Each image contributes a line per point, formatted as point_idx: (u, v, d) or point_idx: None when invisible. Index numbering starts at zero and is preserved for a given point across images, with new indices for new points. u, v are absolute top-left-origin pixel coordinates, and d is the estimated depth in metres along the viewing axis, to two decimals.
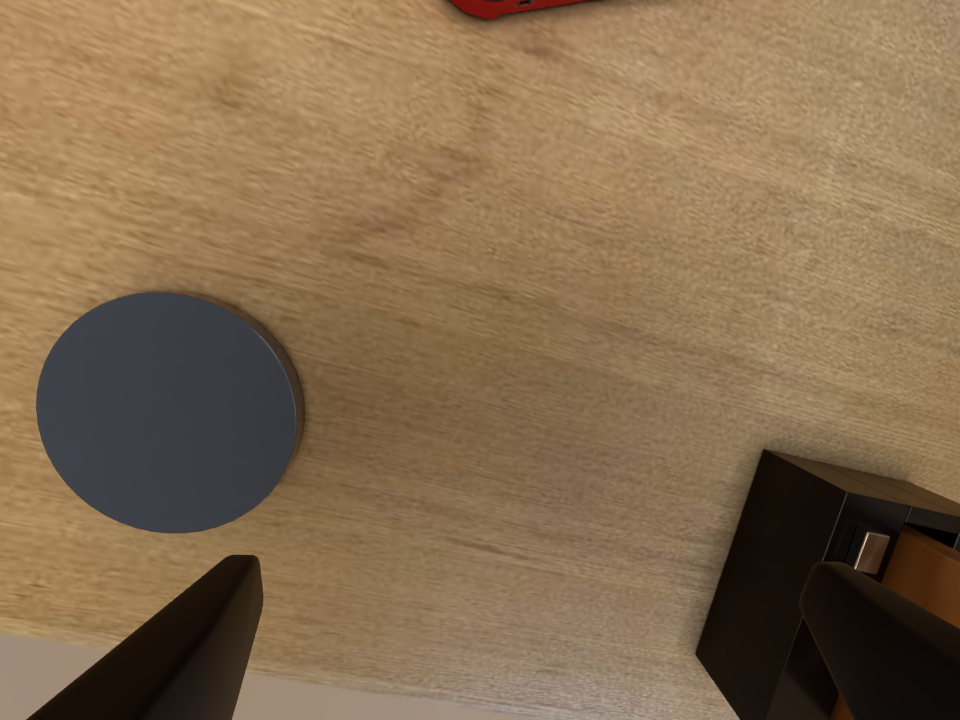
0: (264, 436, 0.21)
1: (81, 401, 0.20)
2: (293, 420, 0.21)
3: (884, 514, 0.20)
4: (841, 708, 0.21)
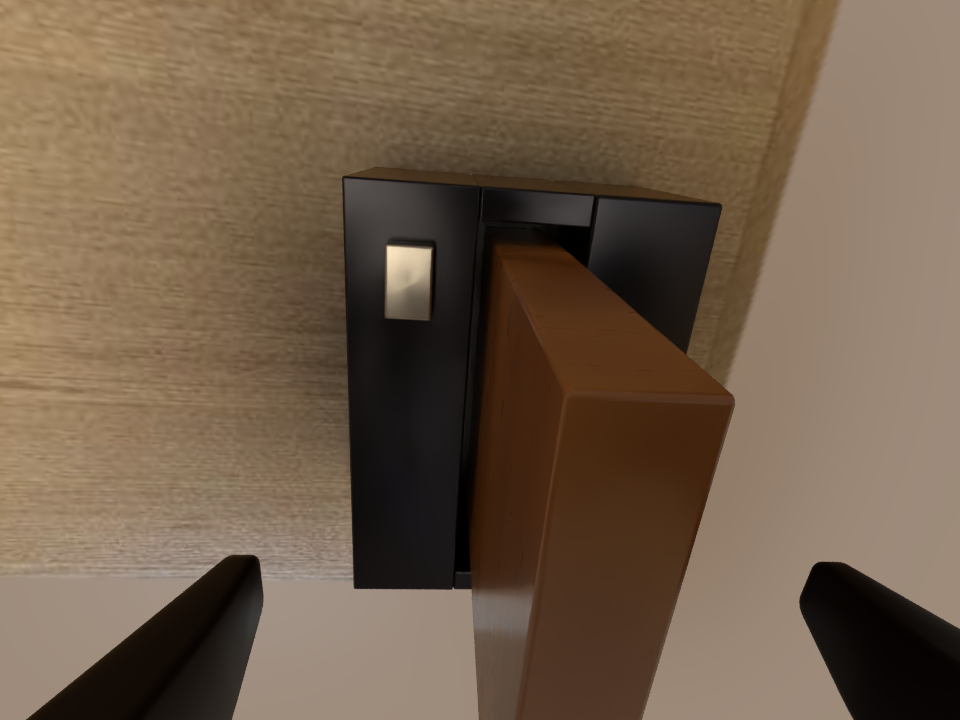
0: None
1: None
2: None
3: (432, 210, 0.11)
4: (471, 530, 0.14)
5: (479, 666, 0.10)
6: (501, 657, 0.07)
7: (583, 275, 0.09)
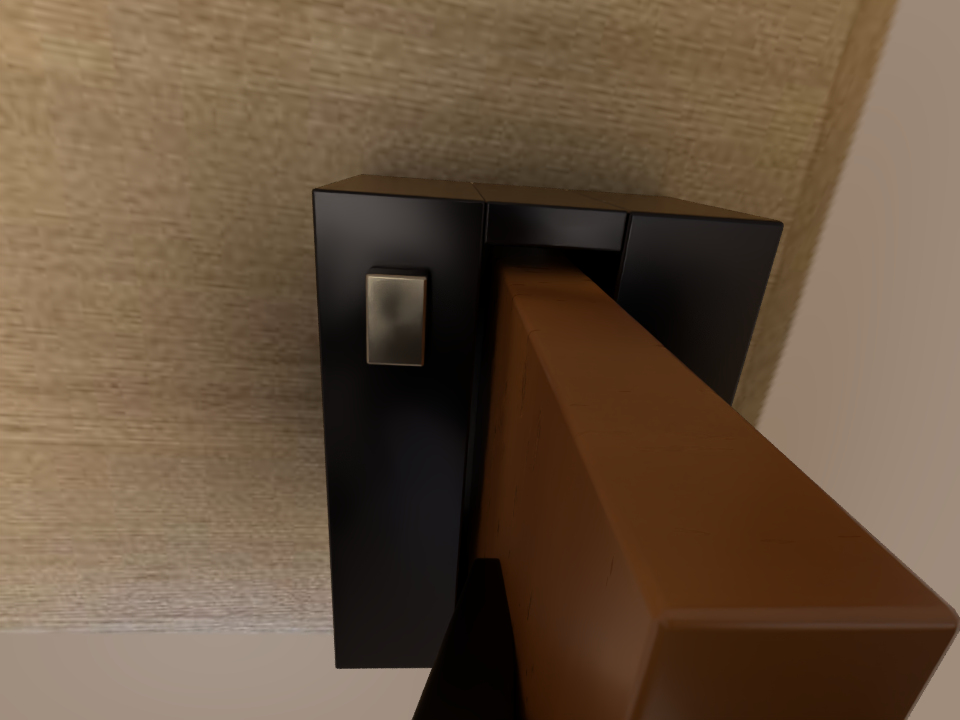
0: None
1: None
2: None
3: (425, 231, 0.08)
4: None
5: None
6: None
7: (621, 321, 0.07)
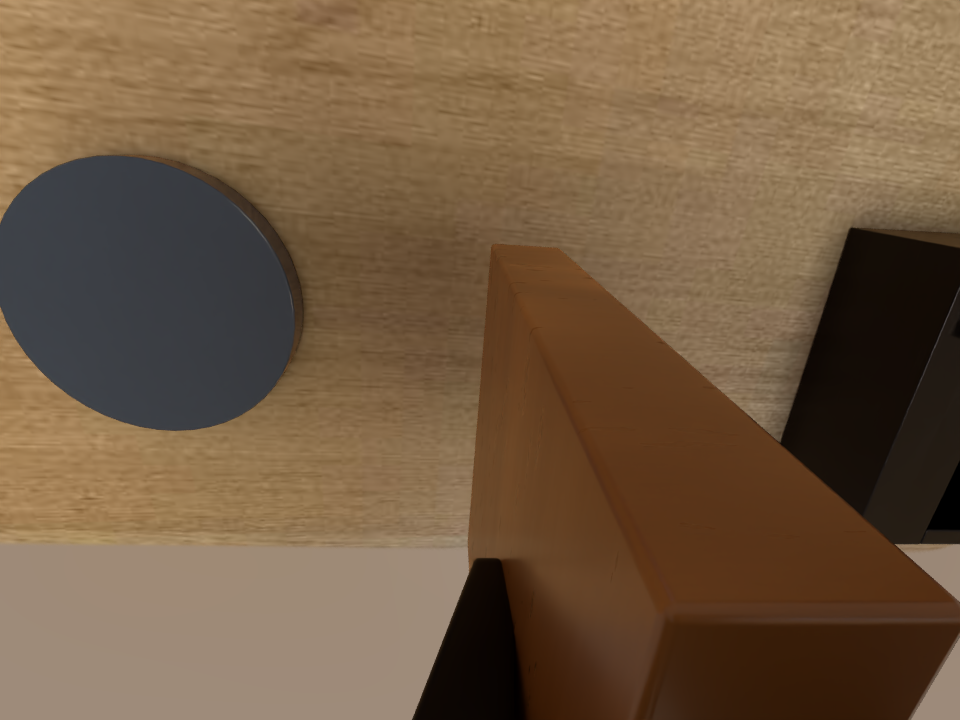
0: (259, 311, 0.18)
1: (49, 306, 0.18)
2: (285, 287, 0.18)
3: None
4: None
5: None
6: None
7: (623, 319, 0.07)
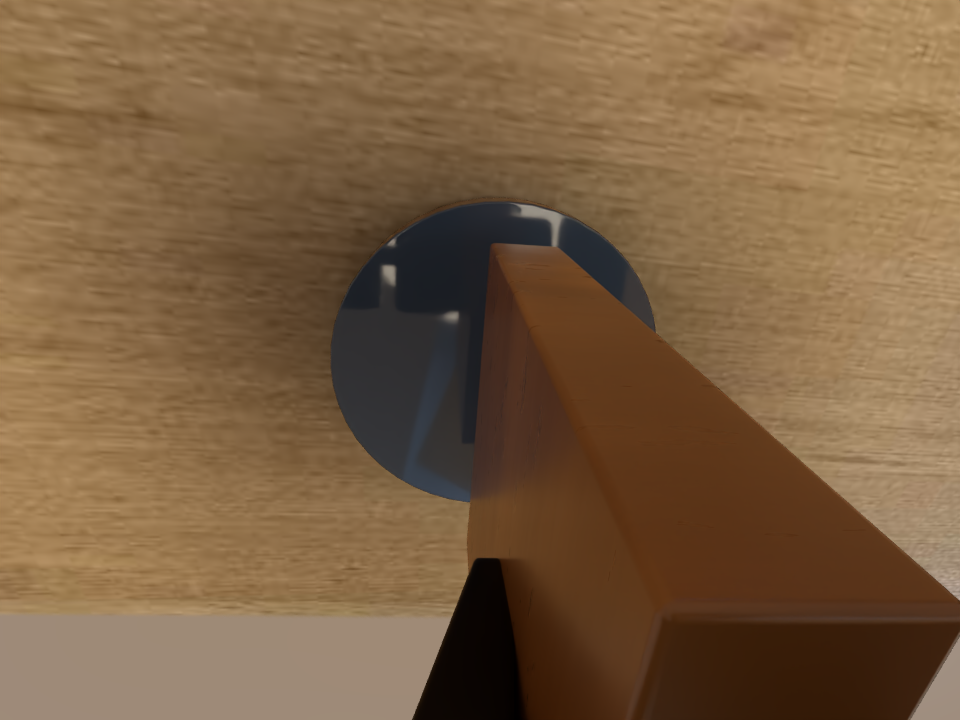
0: None
1: (386, 369, 0.15)
2: None
3: None
4: None
5: None
6: None
7: (622, 317, 0.07)
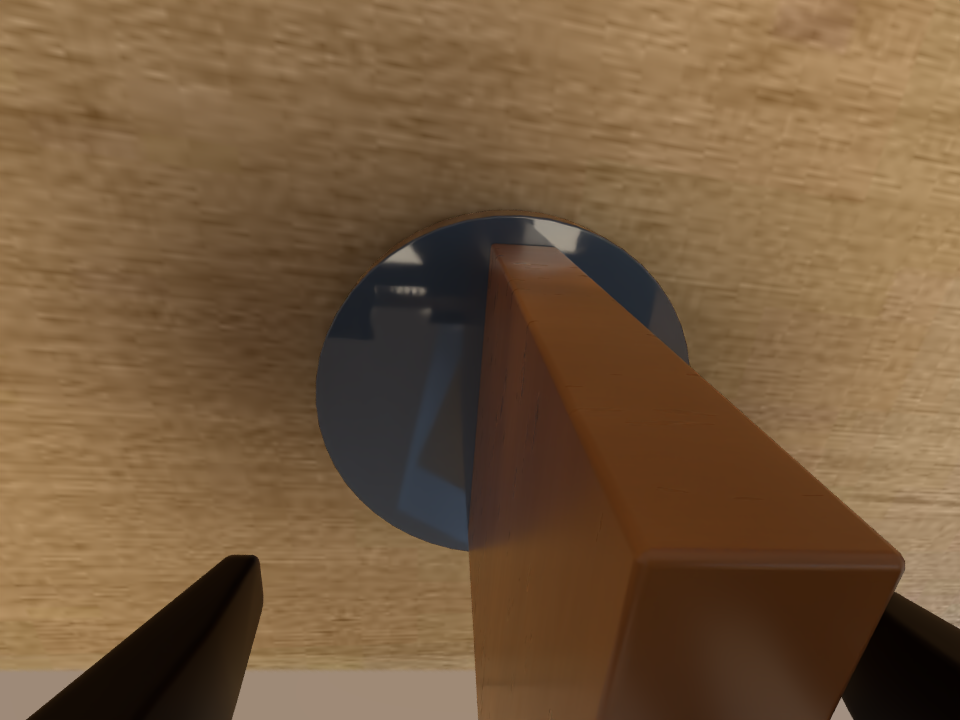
0: None
1: (380, 406, 0.13)
2: None
3: None
4: (474, 590, 0.12)
5: None
6: None
7: (615, 313, 0.07)
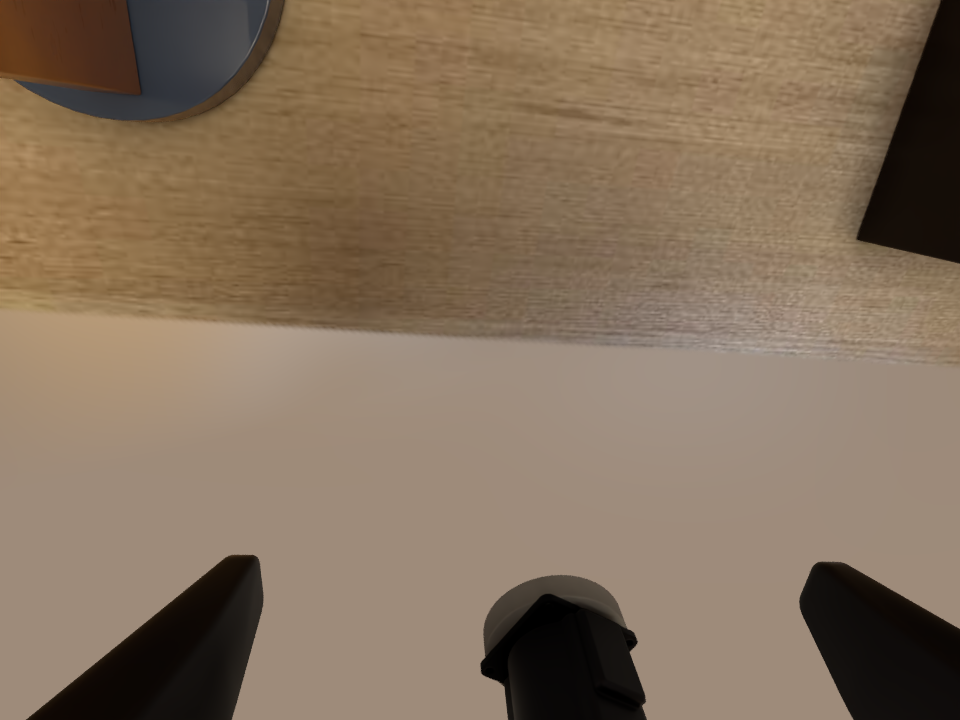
0: None
1: None
2: None
3: None
4: None
5: None
6: None
7: None
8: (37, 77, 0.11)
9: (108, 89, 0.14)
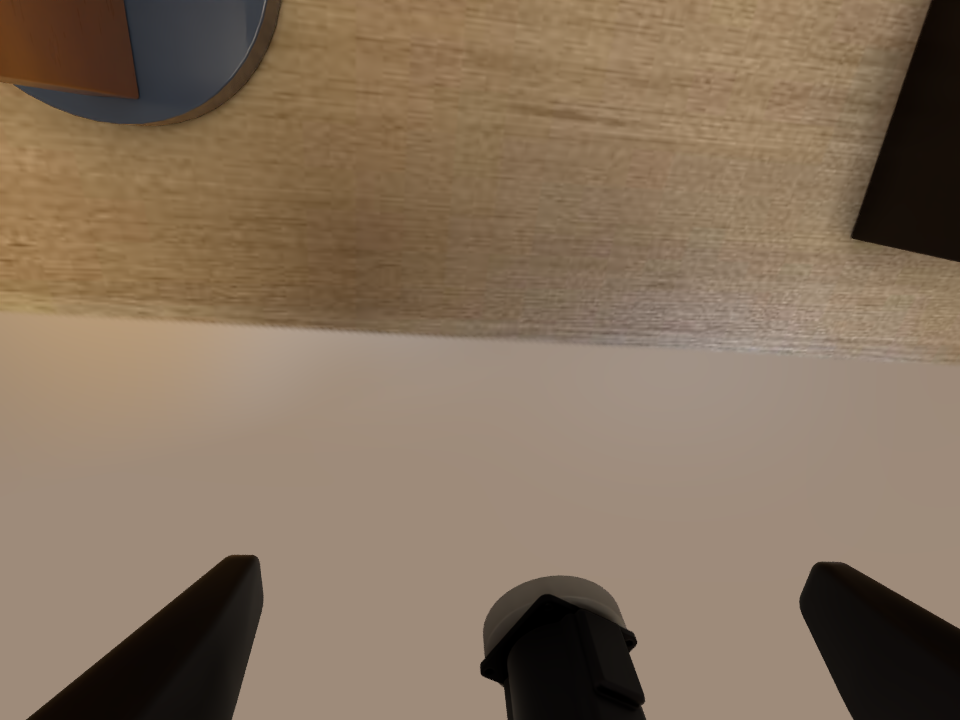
0: None
1: None
2: None
3: None
4: None
5: None
6: None
7: None
8: (36, 81, 0.12)
9: (106, 93, 0.14)
